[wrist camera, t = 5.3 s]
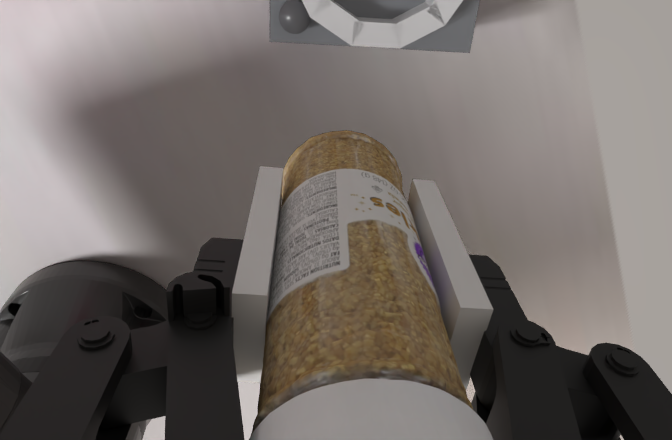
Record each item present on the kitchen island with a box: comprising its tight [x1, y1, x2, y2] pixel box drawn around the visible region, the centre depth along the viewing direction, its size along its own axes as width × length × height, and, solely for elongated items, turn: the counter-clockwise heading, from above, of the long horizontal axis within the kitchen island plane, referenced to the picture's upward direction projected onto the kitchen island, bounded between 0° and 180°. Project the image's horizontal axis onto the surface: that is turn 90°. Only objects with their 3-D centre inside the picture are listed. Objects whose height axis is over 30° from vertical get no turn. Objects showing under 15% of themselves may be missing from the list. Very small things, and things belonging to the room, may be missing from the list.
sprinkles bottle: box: [249, 130, 493, 440], centre depth 13 cm, size 5×5×13 cm
